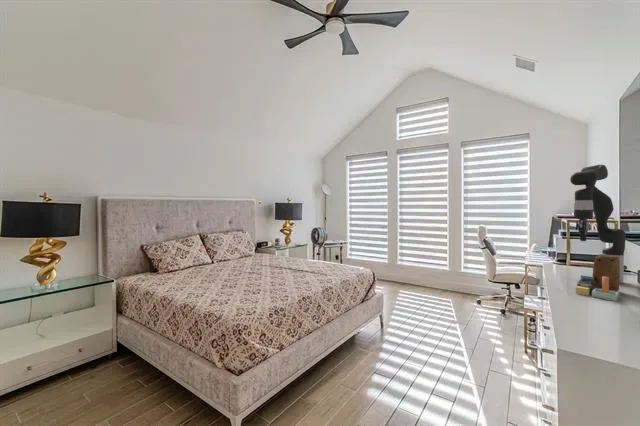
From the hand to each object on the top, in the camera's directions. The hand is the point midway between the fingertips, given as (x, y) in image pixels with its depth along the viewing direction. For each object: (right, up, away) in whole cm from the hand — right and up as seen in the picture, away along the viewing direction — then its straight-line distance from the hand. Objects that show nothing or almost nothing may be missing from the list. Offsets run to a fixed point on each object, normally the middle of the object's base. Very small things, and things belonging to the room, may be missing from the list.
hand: (583, 240), depth 152 cm
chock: (+1, -29, +1) cm, 29 cm away
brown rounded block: (+19, -29, +7) cm, 35 cm away
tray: (+7, -29, -5) cm, 30 cm away
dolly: (+7, -29, +6) cm, 30 cm away
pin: (+7, -28, -5) cm, 30 cm away
